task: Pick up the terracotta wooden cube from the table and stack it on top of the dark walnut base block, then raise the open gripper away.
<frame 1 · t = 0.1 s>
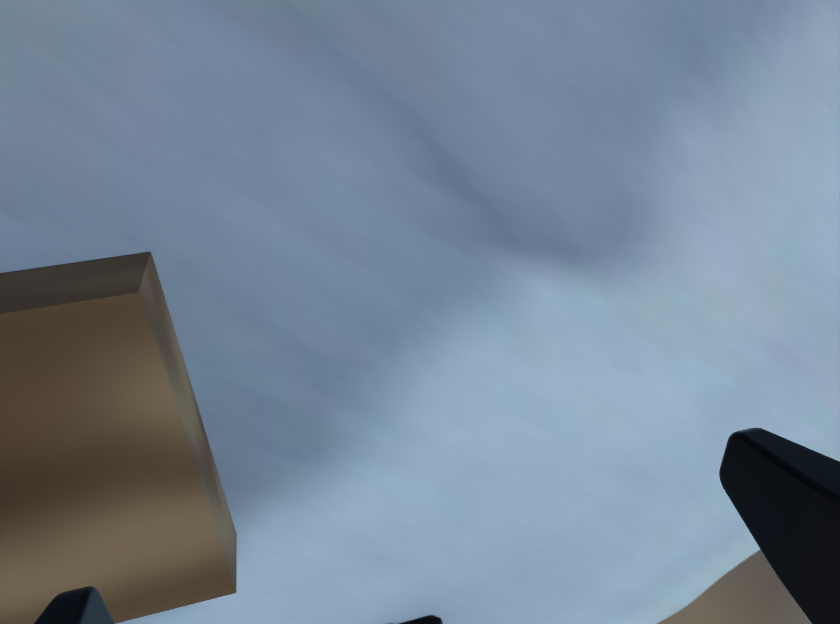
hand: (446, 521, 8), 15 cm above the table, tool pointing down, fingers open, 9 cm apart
walnut base: (3, 453, 22), on the table
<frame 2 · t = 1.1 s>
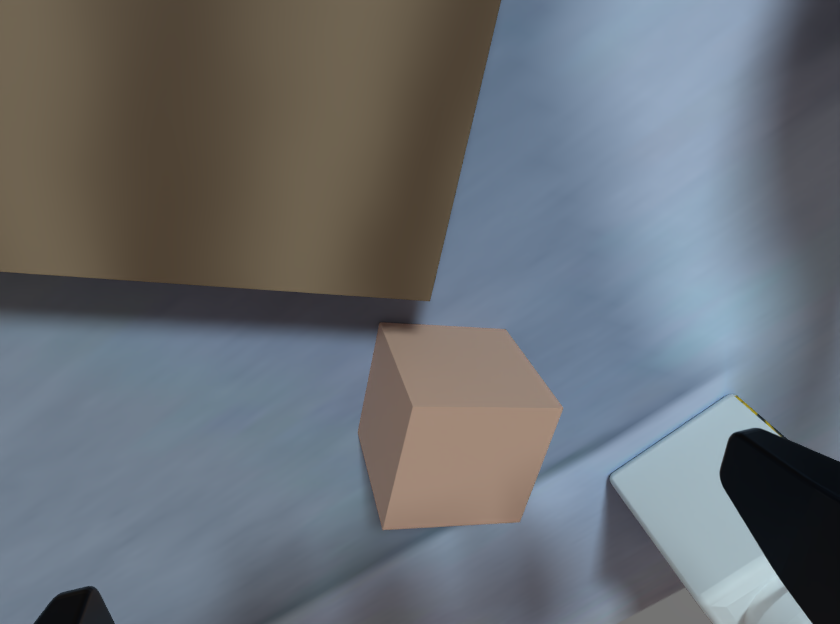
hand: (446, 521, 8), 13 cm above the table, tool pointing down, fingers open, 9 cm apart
medicine bottle: (687, 467, 31), on the table
terracotta cube: (430, 380, 24), on the table
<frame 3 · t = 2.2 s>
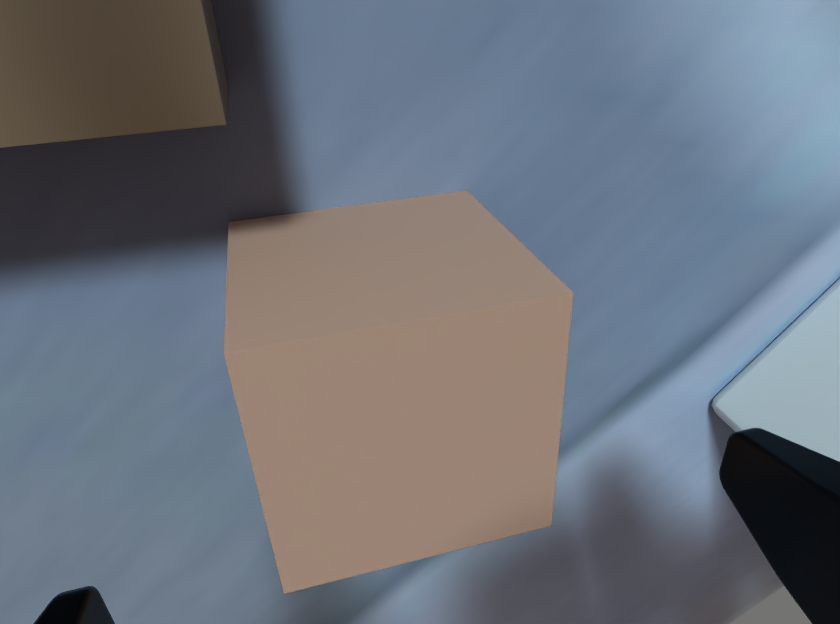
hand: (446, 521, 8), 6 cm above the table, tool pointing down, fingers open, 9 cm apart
medicine bottle: (835, 364, 19), on the table
terracotta cube: (362, 308, 14), on the table
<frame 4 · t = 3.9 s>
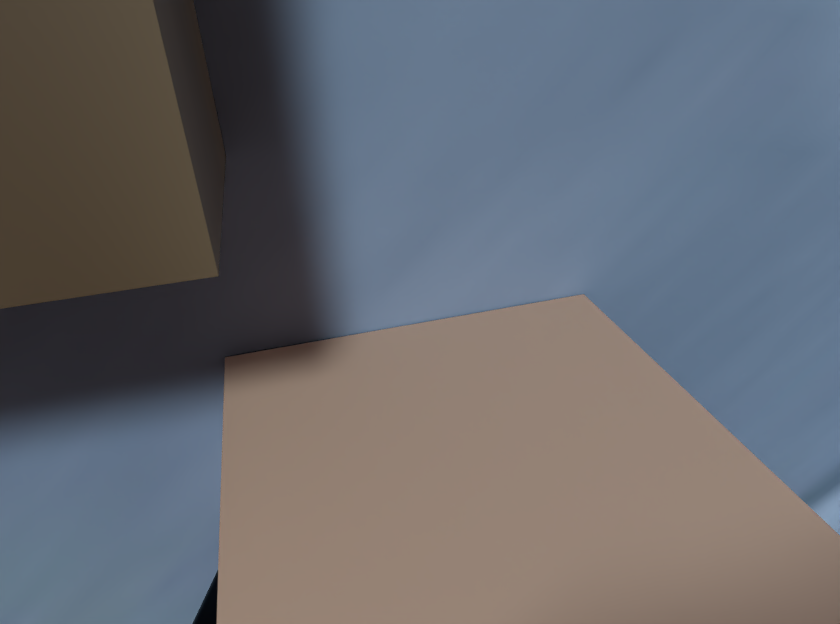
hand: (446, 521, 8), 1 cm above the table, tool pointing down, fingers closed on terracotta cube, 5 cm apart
terracotta cube: (423, 460, 9), on the table, touching gripper
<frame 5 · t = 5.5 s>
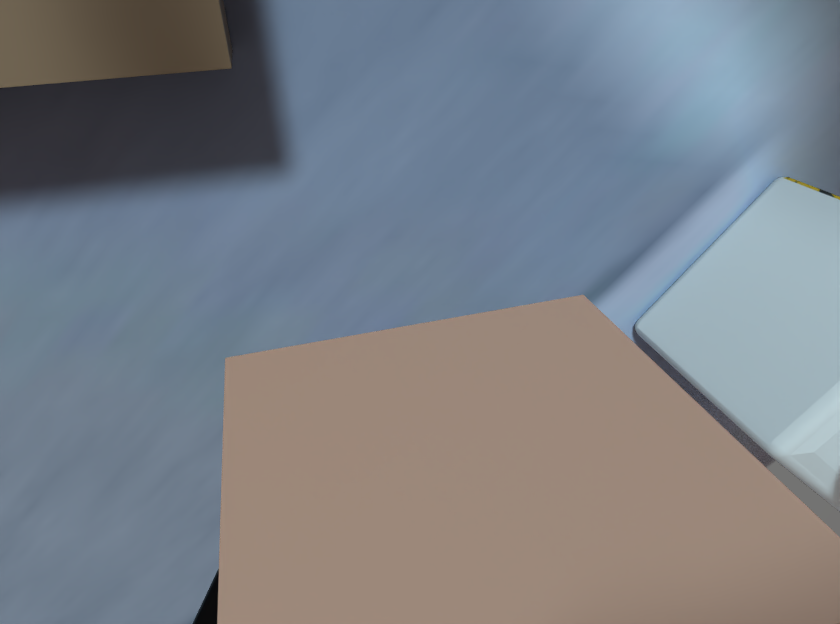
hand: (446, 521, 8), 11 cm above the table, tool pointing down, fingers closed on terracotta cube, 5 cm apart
medicine bottle: (743, 297, 23), on the table
terracotta cube: (423, 460, 9), point 9 cm above the table, touching gripper
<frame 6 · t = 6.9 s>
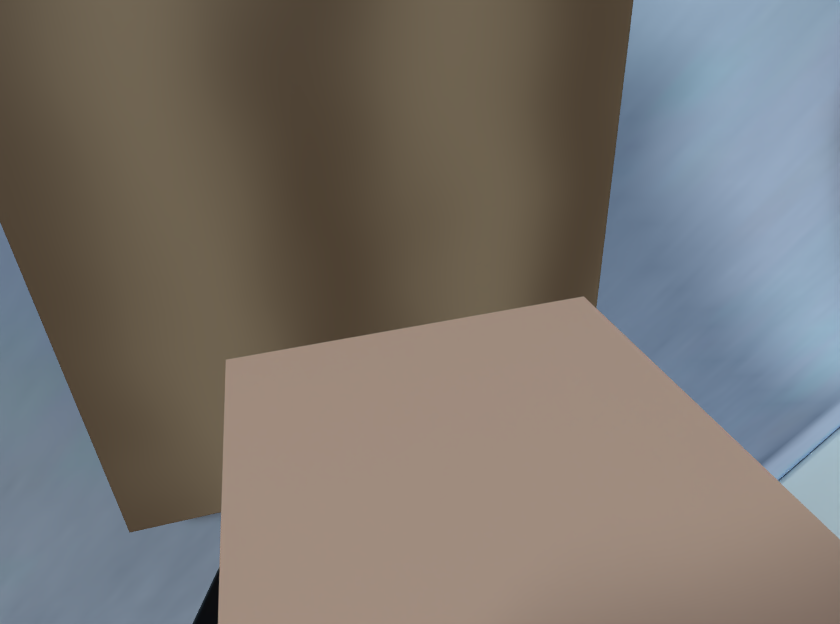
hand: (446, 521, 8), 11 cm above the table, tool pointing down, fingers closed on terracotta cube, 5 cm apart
medicine bottle: (835, 472, 31), on the table
walnut base: (333, 229, 18), on the table
terracotta cube: (423, 461, 9), point 10 cm above the table, touching gripper
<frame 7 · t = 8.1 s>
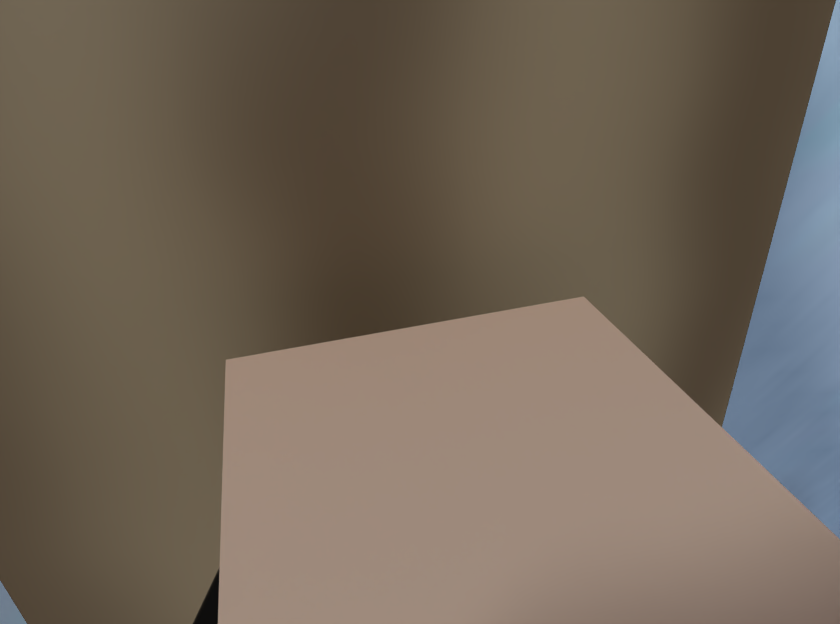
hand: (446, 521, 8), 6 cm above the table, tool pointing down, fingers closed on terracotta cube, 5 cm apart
walnut base: (368, 324, 13), on the table
terracotta cube: (423, 462, 9), point 4 cm above the table, touching gripper
when the fingers open (5 cm above the table, at t = 8.9 s): terracotta cube drops 1 cm, resting on walnut base.
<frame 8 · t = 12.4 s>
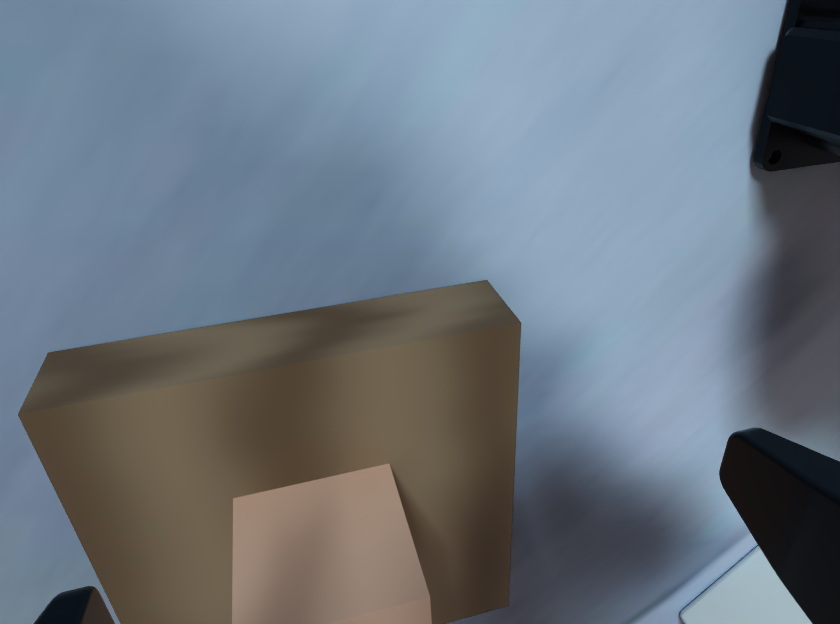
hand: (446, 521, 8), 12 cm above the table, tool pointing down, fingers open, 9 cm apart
medicine bottle: (747, 586, 37), on the table
walnut base: (312, 471, 23), on the table
terracotta cube: (323, 533, 21), point 3 cm above the table, touching walnut base
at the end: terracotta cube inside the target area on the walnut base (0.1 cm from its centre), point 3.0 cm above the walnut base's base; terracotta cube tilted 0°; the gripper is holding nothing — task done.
